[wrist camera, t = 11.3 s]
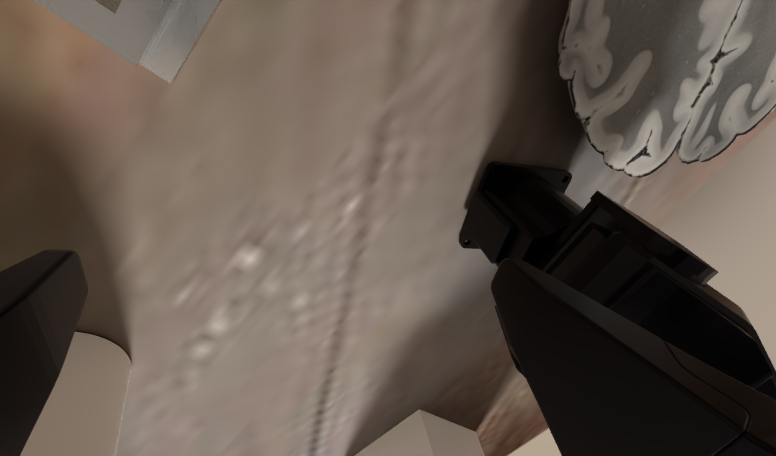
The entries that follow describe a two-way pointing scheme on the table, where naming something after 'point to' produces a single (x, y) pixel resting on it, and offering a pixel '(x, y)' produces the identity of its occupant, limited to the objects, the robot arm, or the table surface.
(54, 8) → the keeper
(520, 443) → the table surface
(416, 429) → the milk
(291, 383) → the table surface
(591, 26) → the brain slice
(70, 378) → the cup
